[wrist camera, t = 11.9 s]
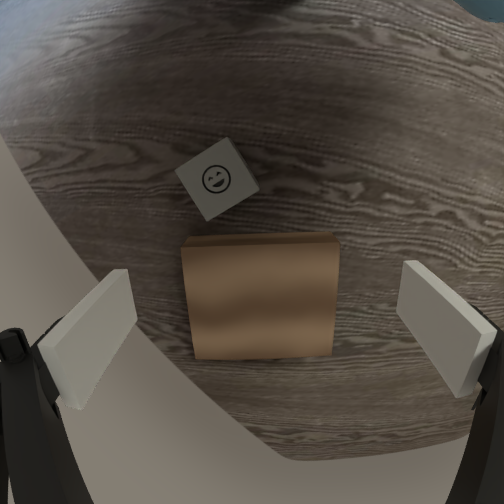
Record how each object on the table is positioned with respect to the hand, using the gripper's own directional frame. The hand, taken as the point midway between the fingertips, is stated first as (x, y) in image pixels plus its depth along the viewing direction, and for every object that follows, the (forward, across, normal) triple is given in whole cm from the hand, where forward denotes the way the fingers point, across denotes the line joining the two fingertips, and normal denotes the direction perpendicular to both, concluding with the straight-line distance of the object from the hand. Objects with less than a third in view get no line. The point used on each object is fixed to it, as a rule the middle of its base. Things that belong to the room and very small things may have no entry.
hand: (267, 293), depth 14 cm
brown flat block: (+17, 0, -8) cm, 19 cm away
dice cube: (+15, -2, +2) cm, 15 cm away
